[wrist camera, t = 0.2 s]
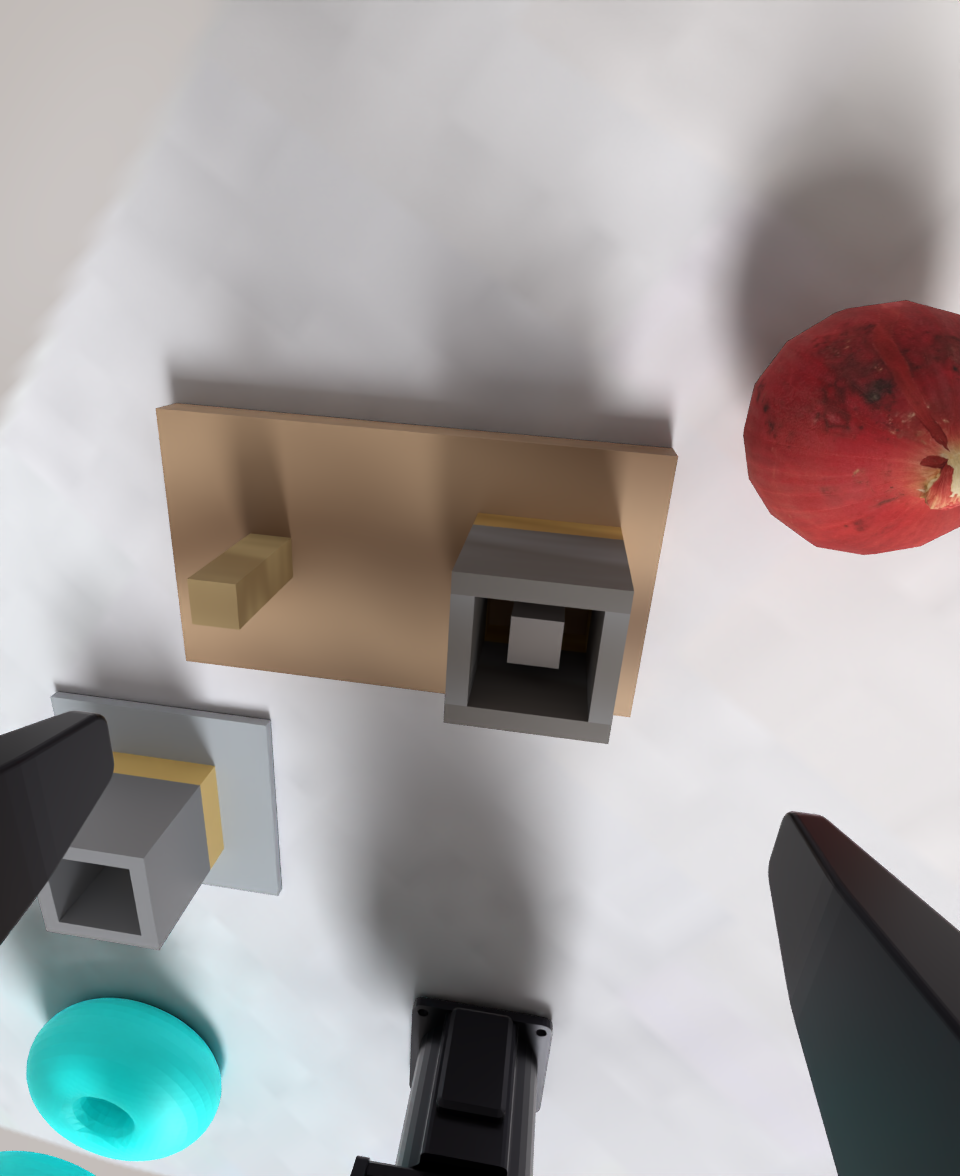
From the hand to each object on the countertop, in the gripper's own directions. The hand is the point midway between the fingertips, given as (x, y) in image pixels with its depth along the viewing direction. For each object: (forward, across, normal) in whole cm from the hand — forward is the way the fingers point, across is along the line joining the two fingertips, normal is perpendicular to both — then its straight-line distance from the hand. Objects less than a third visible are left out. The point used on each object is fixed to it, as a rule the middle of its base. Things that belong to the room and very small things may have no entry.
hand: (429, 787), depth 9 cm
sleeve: (+14, +13, +14) cm, 24 cm away
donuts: (+15, +17, +32) cm, 40 cm away
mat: (+14, +13, +14) cm, 24 cm away
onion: (+14, -9, -4) cm, 17 cm away
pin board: (+14, +3, +2) cm, 15 cm away
